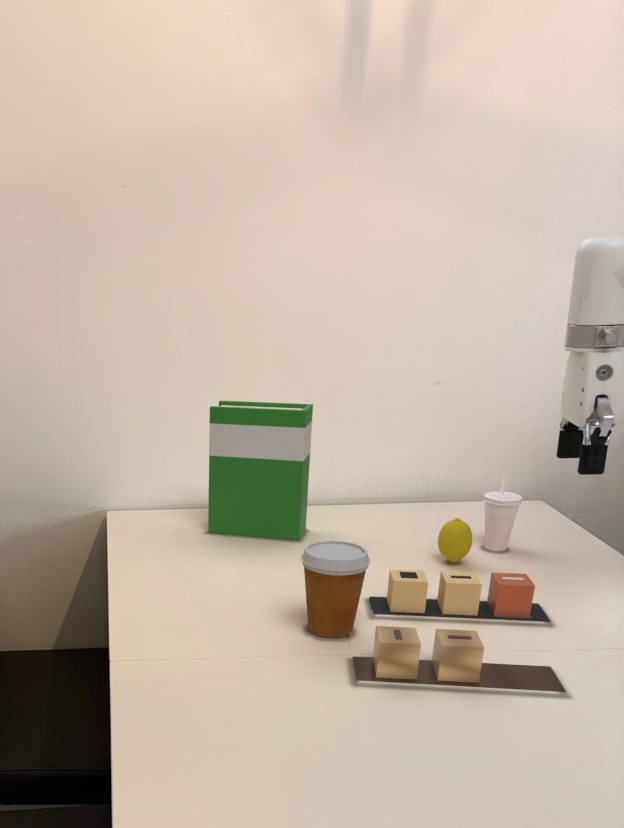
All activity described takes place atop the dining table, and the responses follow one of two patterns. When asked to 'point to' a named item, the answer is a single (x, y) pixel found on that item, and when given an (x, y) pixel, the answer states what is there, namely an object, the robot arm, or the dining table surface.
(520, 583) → the block
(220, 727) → the dining table surface
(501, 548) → the smoothie
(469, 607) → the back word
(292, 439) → the hardback book
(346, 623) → the disposable coffee cup
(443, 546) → the lemon
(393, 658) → the front word
